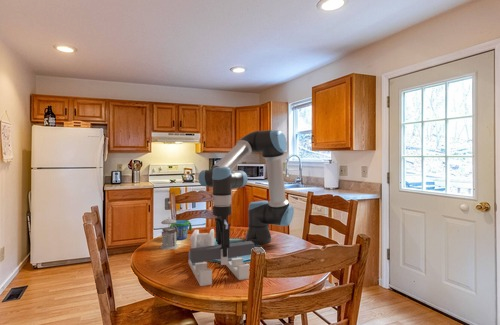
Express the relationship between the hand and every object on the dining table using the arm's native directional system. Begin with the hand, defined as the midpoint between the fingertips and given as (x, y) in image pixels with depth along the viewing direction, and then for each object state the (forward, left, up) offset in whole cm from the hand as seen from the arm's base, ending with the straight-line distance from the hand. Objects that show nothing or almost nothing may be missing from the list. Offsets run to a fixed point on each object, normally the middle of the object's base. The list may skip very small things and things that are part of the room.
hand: (222, 262), depth 122 cm
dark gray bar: (0, 0, +2) cm, 2 cm away
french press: (+15, -51, -6) cm, 53 cm away
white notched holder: (0, -8, -6) cm, 10 cm away
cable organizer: (+1, -32, -6) cm, 33 cm away
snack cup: (+7, -67, -6) cm, 68 cm away
